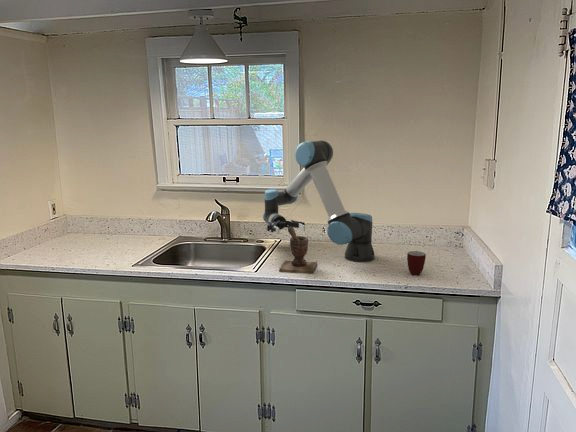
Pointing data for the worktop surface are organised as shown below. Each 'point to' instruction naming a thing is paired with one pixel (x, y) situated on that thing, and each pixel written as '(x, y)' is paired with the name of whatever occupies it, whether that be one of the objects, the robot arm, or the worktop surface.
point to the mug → (416, 262)
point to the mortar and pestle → (298, 247)
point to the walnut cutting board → (301, 269)
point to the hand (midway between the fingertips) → (291, 229)
